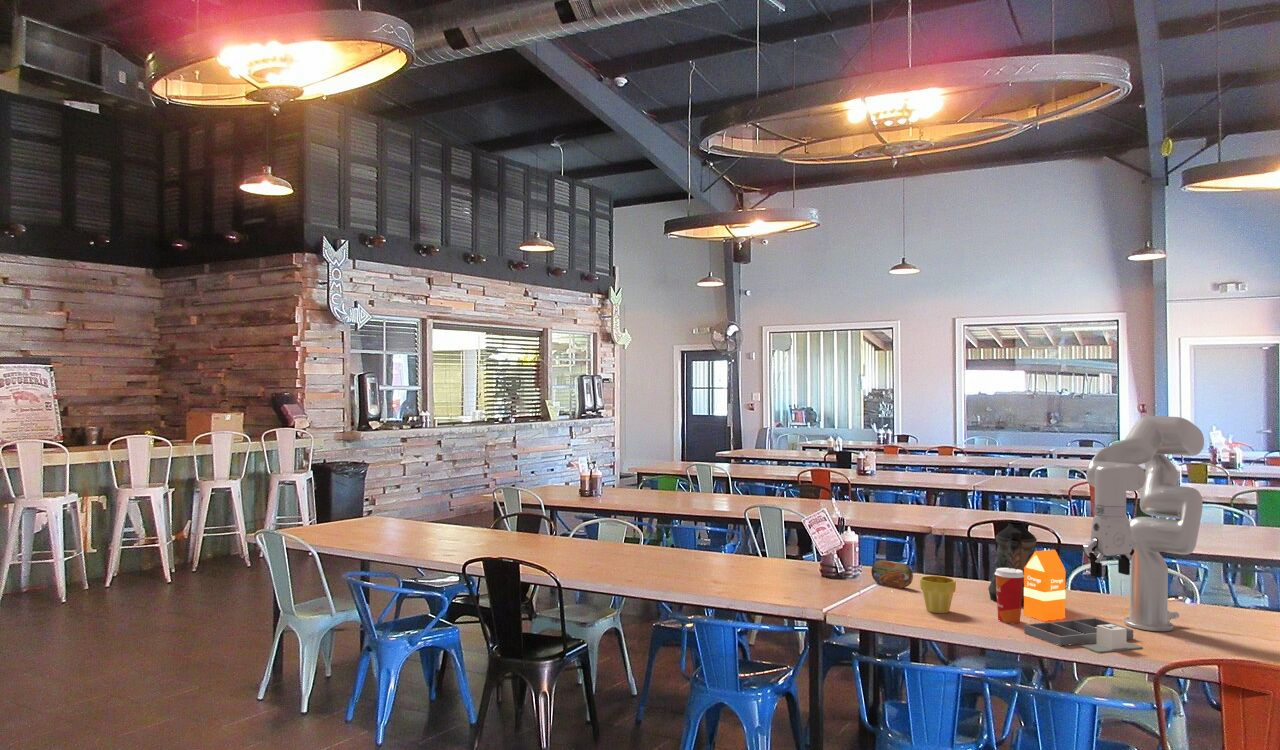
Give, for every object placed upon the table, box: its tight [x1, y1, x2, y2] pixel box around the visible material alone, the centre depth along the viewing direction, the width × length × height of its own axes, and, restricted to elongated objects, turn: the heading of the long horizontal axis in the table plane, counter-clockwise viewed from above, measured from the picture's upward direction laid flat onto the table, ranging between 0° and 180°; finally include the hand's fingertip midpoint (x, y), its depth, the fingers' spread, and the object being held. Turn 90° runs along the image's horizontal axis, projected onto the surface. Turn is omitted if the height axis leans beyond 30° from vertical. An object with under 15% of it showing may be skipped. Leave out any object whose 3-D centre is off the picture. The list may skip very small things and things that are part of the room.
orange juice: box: [1023, 549, 1066, 622], centre depth 274 cm, size 8×9×20 cm
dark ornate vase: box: [987, 522, 1038, 607], centre depth 293 cm, size 16×19×25 cm
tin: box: [870, 559, 914, 589], centre depth 314 cm, size 15×3×8 cm, turn 43°
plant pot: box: [919, 575, 957, 614], centre depth 279 cm, size 10×10×10 cm
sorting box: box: [1024, 617, 1134, 647], centre depth 253 cm, size 25×13×2 cm, turn 109°
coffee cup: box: [995, 568, 1025, 624], centre depth 268 cm, size 8×8×15 cm
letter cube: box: [1096, 623, 1127, 649], centre depth 242 cm, size 5×5×5 cm
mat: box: [1079, 641, 1143, 654], centre depth 242 cm, size 15×6×1 cm, turn 109°
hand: (1110, 575), depth 244 cm, fingers open, 9 cm apart
